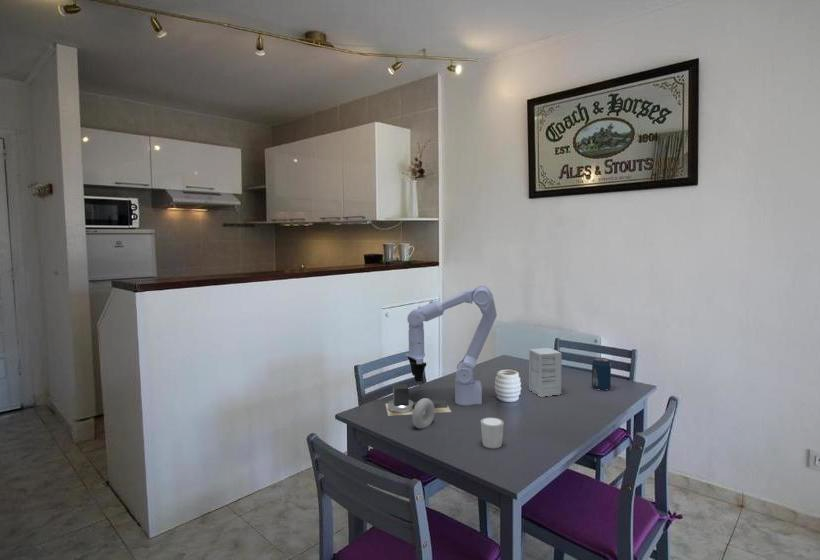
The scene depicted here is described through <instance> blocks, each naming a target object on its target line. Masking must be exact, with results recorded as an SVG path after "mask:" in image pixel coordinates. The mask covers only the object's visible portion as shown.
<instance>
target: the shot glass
mask: <svg viewBox="0 0 820 560" xmlns="http://www.w3.org/2000/svg"><path fill="white" fill-rule="evenodd" d="M504 424H505V423H504V420H503V419H501V418H497V417H491V416H490V417H484V418H482V419H480V428H481V429H480V430H481V439H482V440H481V441H482V445H483V446H484V447H485V448H488V449H498V448H500V447H502V444H503V434H504Z"/></svg>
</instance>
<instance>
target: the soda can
mask: <svg viewBox="0 0 820 560" xmlns="http://www.w3.org/2000/svg"><path fill="white" fill-rule="evenodd" d="M611 371H612V364H611V362H610V359H609V358H606V357H594V358H593V361H592V362H591V386H592V388H593V389H594V388H595V389H600V390H606V389H608V390H609V389H610V388H611V377H612V376H611V374H612V372H611ZM595 389H594V390H595Z"/></svg>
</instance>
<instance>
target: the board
mask: <svg viewBox="0 0 820 560" xmlns="http://www.w3.org/2000/svg"><path fill="white" fill-rule="evenodd" d="M384 404H385V409H386V412H387V416H388V417H390V416H392V417H393V416H408V415H411V416H412V415H413V410H414V408H413V410H412V411H410V412H407V413H393V412H390V411H389V410H388V402H386V403H384ZM447 406H448V407H447V408H435V414H440V413H452V410H451V409H450V406H449V405H448V404H447ZM424 412H425V411H424ZM423 415H424V413H423Z"/></svg>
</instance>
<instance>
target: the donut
mask: <svg viewBox="0 0 820 560" xmlns="http://www.w3.org/2000/svg"><path fill="white" fill-rule="evenodd" d="M432 401H433V400H431V399H430V398H427V397H424V398H421V399H418V401H416V402H417V404H416V405H415V407H414V410H413V414H411V417H412V418H411V419H412V423H413V425H414V427H415V428H416V429H419V430H422V429H426V428H428V427H429V426H430V425H431V424H432V423H433V420H434V417H435V414H436V413H435V407H434V404H433V402H432ZM424 411H425V412H424ZM423 413H424V414H423Z"/></svg>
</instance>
